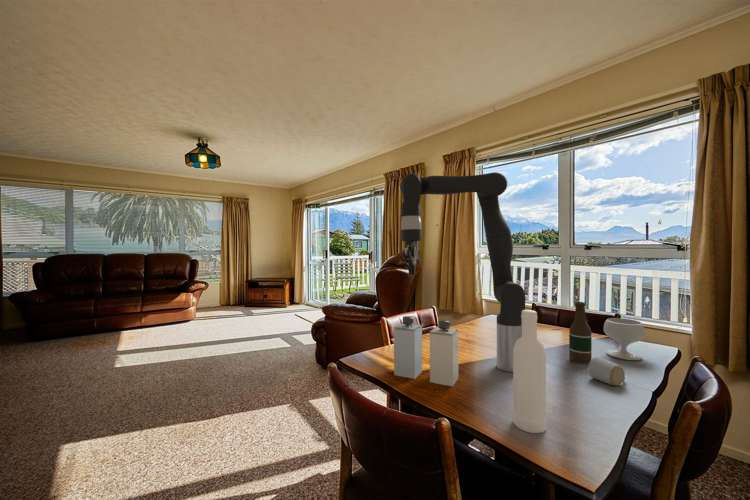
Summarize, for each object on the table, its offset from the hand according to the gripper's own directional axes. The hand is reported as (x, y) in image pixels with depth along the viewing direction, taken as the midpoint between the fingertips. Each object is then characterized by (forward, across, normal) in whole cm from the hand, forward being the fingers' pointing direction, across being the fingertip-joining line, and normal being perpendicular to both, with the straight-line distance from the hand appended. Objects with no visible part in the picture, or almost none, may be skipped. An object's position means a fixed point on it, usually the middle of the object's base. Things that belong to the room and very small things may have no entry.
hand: (412, 274), depth 120 cm
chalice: (+38, +55, -74) cm, 100 cm away
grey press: (+36, -2, +1) cm, 37 cm away
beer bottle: (+38, +40, -57) cm, 79 cm away
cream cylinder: (+38, +21, -64) cm, 77 cm away
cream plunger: (+31, -3, -12) cm, 33 cm away
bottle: (+37, -21, -40) cm, 58 cm away
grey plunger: (+30, -2, +1) cm, 31 cm away
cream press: (+37, -3, -12) cm, 39 cm away
